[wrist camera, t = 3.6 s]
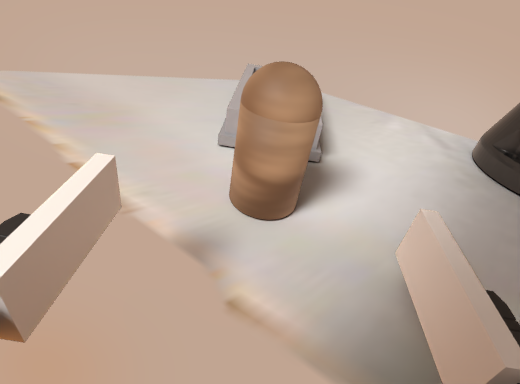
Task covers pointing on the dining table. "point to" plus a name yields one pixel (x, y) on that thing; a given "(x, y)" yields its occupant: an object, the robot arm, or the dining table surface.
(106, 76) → the dining table surface
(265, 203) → the wooden dome-top peg
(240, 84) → the two-compartment grey tray
